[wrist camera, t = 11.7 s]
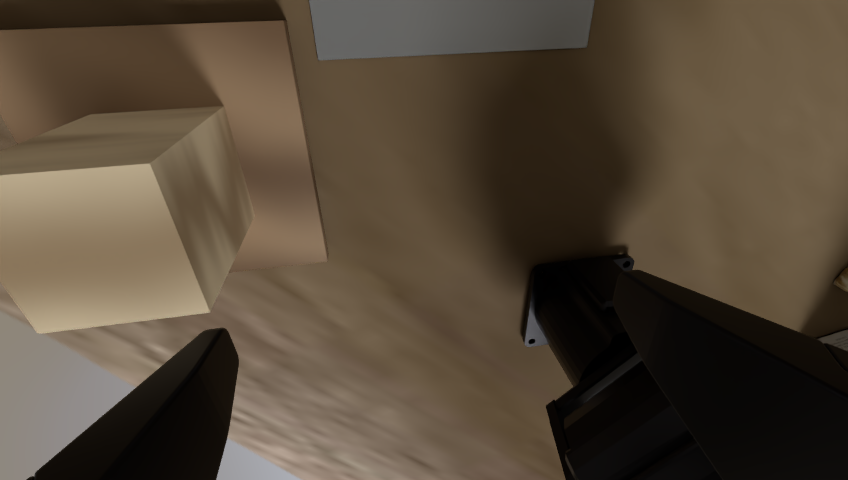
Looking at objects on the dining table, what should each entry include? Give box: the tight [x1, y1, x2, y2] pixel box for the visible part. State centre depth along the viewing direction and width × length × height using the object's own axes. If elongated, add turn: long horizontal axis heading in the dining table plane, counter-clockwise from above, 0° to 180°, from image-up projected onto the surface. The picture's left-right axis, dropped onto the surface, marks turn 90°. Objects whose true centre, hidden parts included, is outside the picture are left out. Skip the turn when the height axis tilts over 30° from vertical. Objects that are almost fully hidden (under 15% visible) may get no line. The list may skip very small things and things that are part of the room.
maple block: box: [0, 106, 255, 334], centre depth 14 cm, size 5×5×7 cm
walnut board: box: [0, 20, 329, 273], centre depth 17 cm, size 11×11×1 cm
